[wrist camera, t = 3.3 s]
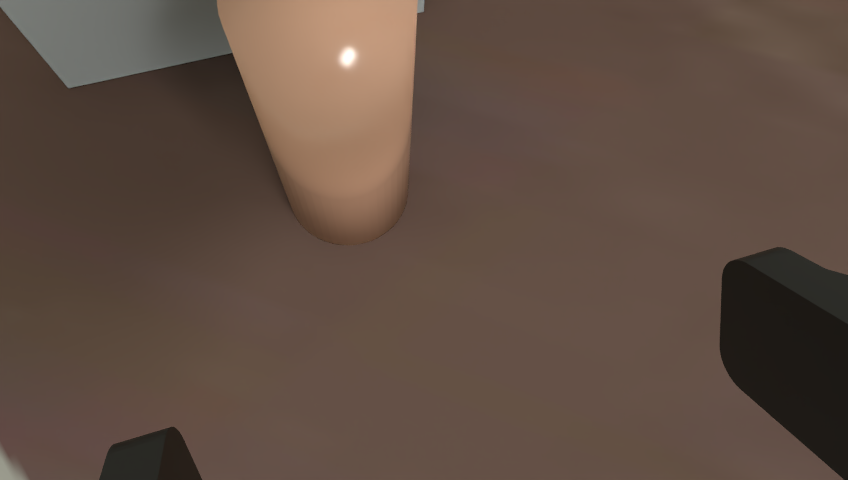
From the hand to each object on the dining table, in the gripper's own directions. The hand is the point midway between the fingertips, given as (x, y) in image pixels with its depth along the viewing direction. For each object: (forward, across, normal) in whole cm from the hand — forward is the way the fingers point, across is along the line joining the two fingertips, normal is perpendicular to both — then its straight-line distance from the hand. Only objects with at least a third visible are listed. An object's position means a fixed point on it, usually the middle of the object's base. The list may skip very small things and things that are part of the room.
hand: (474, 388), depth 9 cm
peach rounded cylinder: (+19, 0, +4) cm, 20 cm away
